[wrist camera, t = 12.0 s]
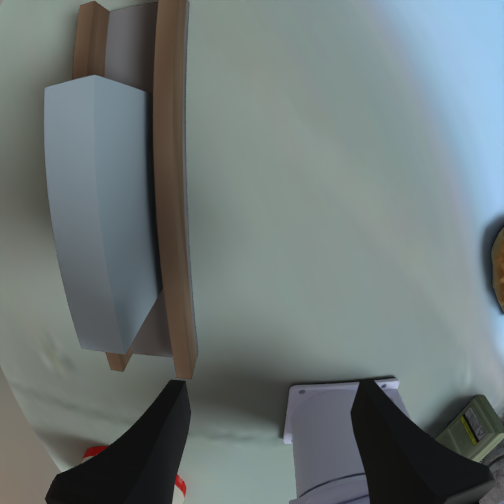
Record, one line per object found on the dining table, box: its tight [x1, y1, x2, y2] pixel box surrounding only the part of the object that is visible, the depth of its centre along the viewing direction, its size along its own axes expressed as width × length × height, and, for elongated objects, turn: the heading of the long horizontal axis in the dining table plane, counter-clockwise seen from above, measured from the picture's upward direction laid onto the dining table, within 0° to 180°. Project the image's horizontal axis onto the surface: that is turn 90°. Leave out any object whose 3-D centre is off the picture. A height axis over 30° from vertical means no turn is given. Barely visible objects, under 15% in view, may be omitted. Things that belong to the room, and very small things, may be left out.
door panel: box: [44, 75, 163, 354], centre depth 15 cm, size 2×12×7 cm, turn 179°
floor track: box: [72, 0, 198, 379], centre depth 17 cm, size 6×24×3 cm, turn 0°
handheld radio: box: [435, 395, 504, 462], centre depth 26 cm, size 7×3×25 cm
